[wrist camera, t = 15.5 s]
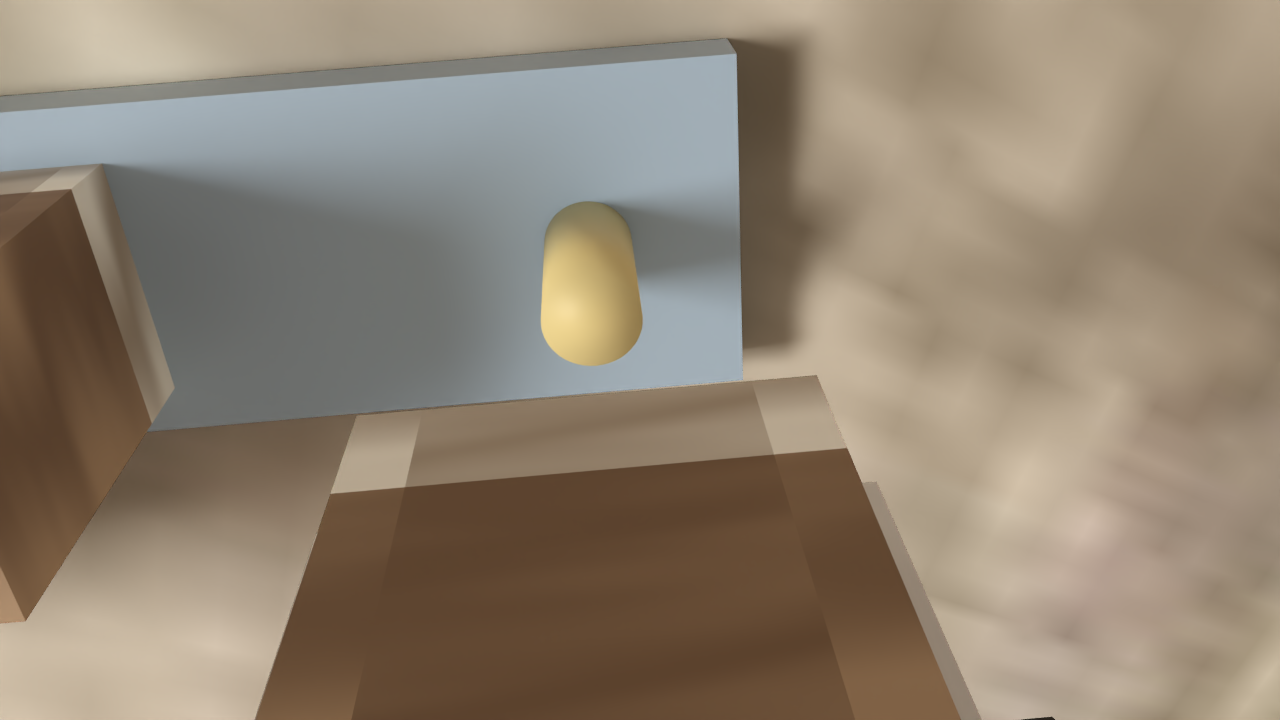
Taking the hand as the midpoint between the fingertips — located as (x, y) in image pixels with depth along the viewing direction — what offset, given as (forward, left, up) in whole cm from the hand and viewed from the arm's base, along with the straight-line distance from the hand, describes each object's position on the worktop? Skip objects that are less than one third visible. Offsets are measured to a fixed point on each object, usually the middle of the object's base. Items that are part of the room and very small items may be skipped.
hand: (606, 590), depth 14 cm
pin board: (0, -7, -13) cm, 15 cm away
